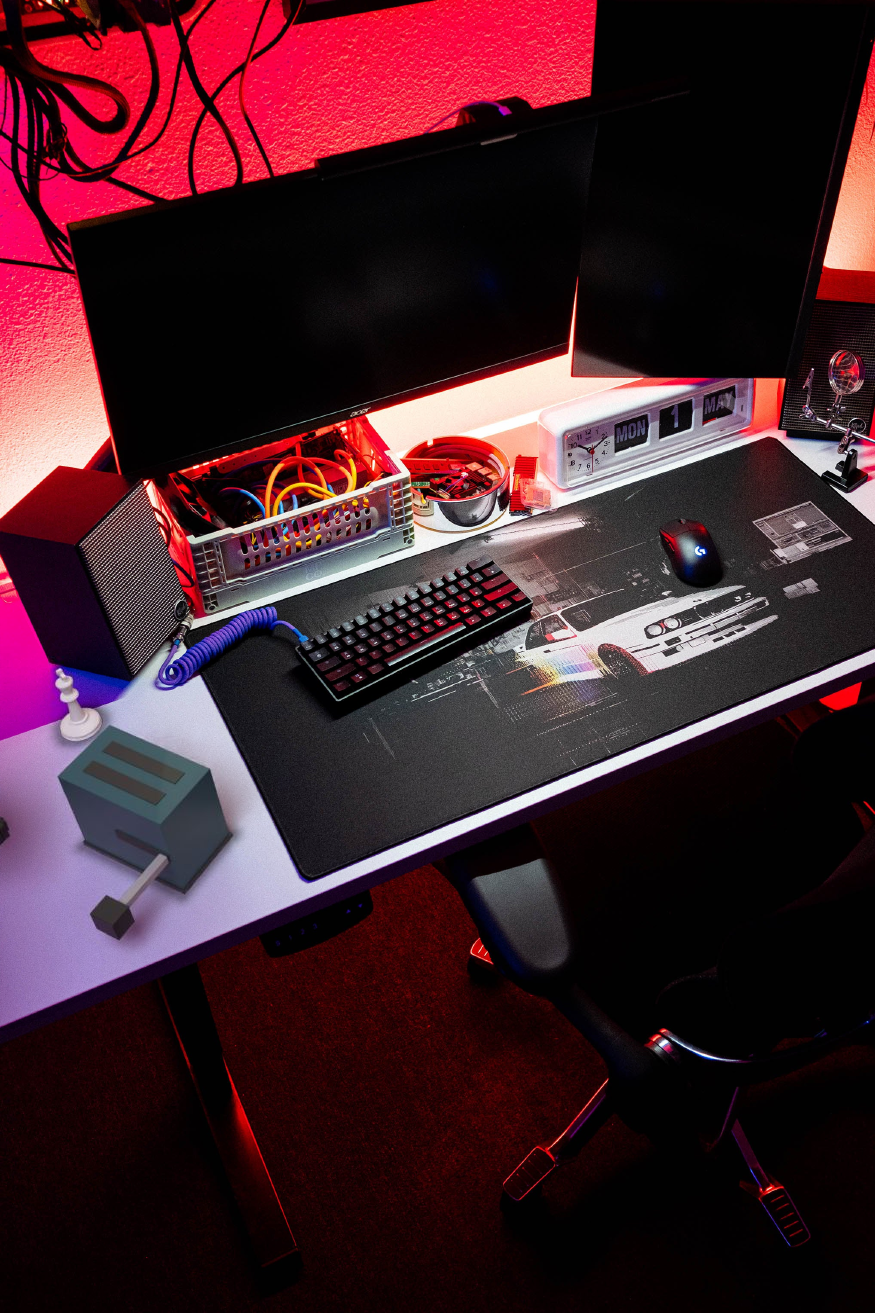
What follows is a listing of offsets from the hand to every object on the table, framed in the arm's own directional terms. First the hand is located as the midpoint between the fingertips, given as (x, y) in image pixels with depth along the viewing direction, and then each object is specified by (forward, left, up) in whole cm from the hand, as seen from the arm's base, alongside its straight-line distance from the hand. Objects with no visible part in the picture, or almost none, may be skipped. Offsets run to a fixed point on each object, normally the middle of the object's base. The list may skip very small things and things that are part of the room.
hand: (2, 836), depth 113 cm
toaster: (+12, -6, -13) cm, 19 cm away
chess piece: (+21, +14, -13) cm, 29 cm away
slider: (+4, -12, -8) cm, 15 cm away
